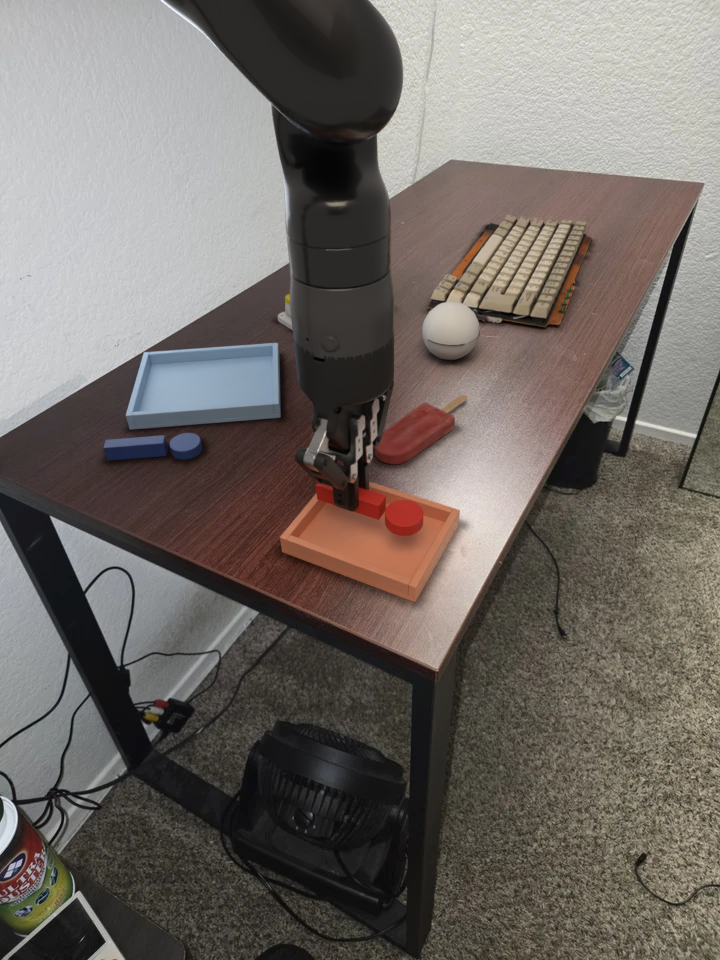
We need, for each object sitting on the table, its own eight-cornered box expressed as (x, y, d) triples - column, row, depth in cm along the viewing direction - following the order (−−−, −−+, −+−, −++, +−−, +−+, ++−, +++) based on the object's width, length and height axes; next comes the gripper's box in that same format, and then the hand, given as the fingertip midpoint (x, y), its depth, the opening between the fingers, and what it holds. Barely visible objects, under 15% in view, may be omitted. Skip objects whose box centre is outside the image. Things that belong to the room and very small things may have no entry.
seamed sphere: (410, 362, 86) (412, 310, 81) (436, 337, 90) (438, 287, 86) (482, 382, 82) (488, 328, 77) (504, 355, 86) (511, 303, 82)
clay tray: (281, 552, 61) (279, 537, 59) (335, 485, 68) (334, 470, 66) (415, 602, 56) (416, 587, 55) (458, 525, 63) (460, 509, 61)
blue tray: (129, 429, 76) (125, 415, 74) (147, 365, 87) (143, 352, 85) (280, 417, 77) (278, 403, 76) (279, 355, 88) (277, 342, 86)
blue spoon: (105, 466, 71) (101, 453, 70) (111, 447, 73) (107, 434, 72) (201, 458, 71) (198, 445, 70) (203, 439, 74) (200, 426, 73)
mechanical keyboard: (487, 225, 122) (489, 206, 120) (593, 238, 116) (597, 219, 114) (424, 315, 96) (426, 293, 94) (557, 337, 90) (561, 314, 88)
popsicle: (482, 396, 76) (397, 459, 68) (480, 408, 77) (397, 472, 69) (450, 382, 78) (365, 442, 70) (450, 394, 79) (365, 454, 72)
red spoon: (311, 505, 60) (310, 491, 59) (329, 483, 63) (328, 469, 61) (413, 540, 57) (414, 526, 55) (429, 516, 59) (429, 501, 58)
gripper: (342, 282, 54) (350, 447, 66) (248, 359, 45) (276, 536, 57) (426, 298, 52) (419, 467, 63) (344, 384, 43) (353, 564, 54)
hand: (351, 499), depth 60 cm, fingers closed on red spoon, 1 cm apart
